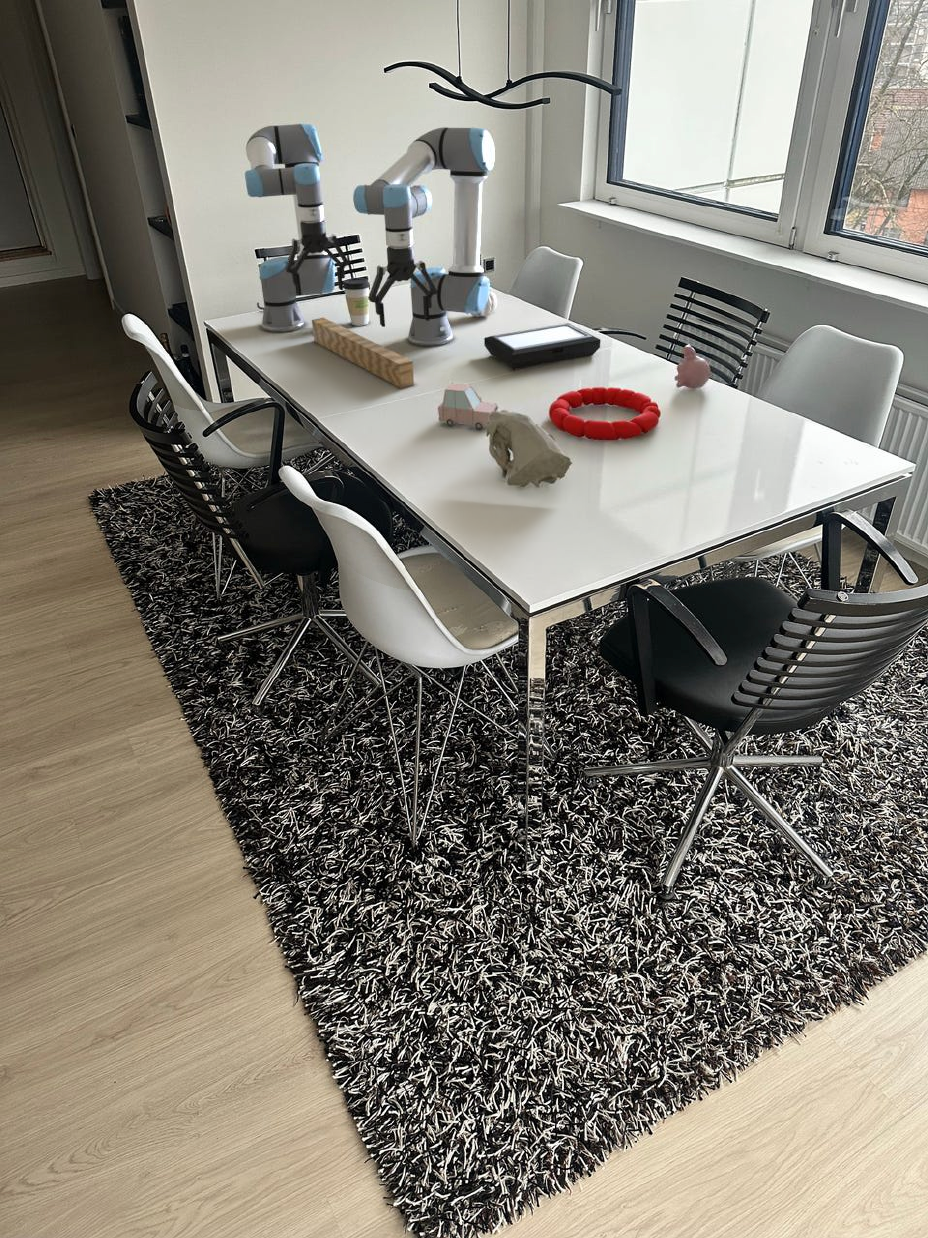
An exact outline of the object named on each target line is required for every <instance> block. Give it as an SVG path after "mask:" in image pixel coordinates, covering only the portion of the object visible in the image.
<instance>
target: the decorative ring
mask: <svg viewBox="0 0 928 1238" xmlns="http://www.w3.org/2000/svg"><path fill="white" fill-rule="evenodd" d="M583 405H584V406H586V407H587V406H591V405H593V406H604V405H608V406H614V407H619V408H624V409H628V410H632V411H635V412H636V413H638V414H639V415H637V416H635V417H632V418H631V419H630V420H625V419H624V420H623V419H622V420H614V421H611V422H609V421H607V420H606V421H605V420H593V419H587V420H586V421H585V419H584V418H582V417H579V416H577V415H573V414H571V413H570V410H571V409H579V408H581V407H582V406H583ZM548 416H549V419H550V422H551V423H552V425H553V426H554V427H555V428H556V429H558V430H559V431H561V432H563V433H567V434H568V435H569V436H573V437H576V438H580V439H582V438H583V437H585V438H586V439H587V440H591V441H601V442H602V441H603V442H608V441H609V442H610V441H611V442H612V441H615V442H616V441H618V440H630V439H634V438H638V437H641V436H642V434H647V433H650V432H651V431H653V430H654V429H655V428H656V427H657V426H658V424H659V422H660V421H659V420H660V417H661V410H660V408H659V405H658V403H657V402H656V401H652V399H651V397H649V396H648V395H646V394H644V393H642V392H635V391H634V390H632V389H628V388H624V389H622V388H620V387H613V386H612V387H611V386H610V387H608V388H606V387H604V386H594V387H585V388H584V387H583V388H580V389H578V390H571V391H568V392H565V393H563V394H561V395H560V396H558V397H557V398H556V400H554V401H552V403H551V404H550V407H549V409H548Z"/></svg>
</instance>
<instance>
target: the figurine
mask: <svg viewBox="0 0 928 1238" xmlns="http://www.w3.org/2000/svg"><path fill="white" fill-rule="evenodd" d="M682 354H683V358H684V359H683V361H682V362H679V363H678V364H677V365H676V372H677V375H675V376H674V381H675V382H676V381H677V382H676V384H675V386H676V388H681V387H686V388H688V389H693V390H694V389H695V390H696V389H700V388H703V387H704V386H705V385H706V384H707V383H708V382H709V379H710V377H711V367H710V364H709V362H708V361H706V359H704V358H702V357H700V356H697V353H696V350H695V349H694V347H692V345H690V344H686V345H685V346H684V347H683V348H682Z"/></svg>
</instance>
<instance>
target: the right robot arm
mask: <svg viewBox="0 0 928 1238" xmlns="http://www.w3.org/2000/svg"><path fill="white" fill-rule="evenodd" d="M495 150H496V149H495V144H494V141H493V138H492V136H491V134H490V132H489V131H488V130H487V129H485V128H478V127H474V126H473V127H446V126H445V127H438V128H435V129H432V130H430V131H428V132H426V133H424V134H422V135H420V136H419V137H418V138H416V139H414V140H413V142H411V143H410V144H409V145H408V146H407V150H406V152H405V153H404V154H403V155H402V156H401V157H400V158H398V159H397V161H395V163H393V164H392V165H391V166H390V167H388V168H387V170H385V171H384V172H383V173H382V174H381V175H380V176H378V177H377V178H376V179H375V180H374V181H373V182H372V183H371V184H359V185H357V186H356V187H355V189H354V191H353V194H352V195H353V196H352V201H353V206H354V209H355V211H357V212H358V213H359V214H365V215H375V216H377V215H379V216H384V226H385V227H384V228H385V229H384V230H385V245H386V246H387V247H386V258H387V260H386V261H387V265H386V266H381V265H377V266H376V275H375V278H374V280H373V283H372V286H371V288H370V290H369V297H368V299H369V302H370V303H374V306H375V314H376V315H377V316H379V317H378V318H379V325H380V326H381V327H382V328H383V327H386V322H385V321H386V320H385V308H384V302H382V301H383V300H384V298H385V297H386V296H387V293H388V292H389V290H390V289H391V288H392V286H393V285H394V284H395V282H398V283H399V282H402V281H403V282H406V281H409V280H410V286H409V288H410V299H411V311H412V312H411V313H412V320H411V323H410V326H409V330H408V336H407V337H408V342H409V343H410V344H412V345H415V346H420V347H421V346H422V347H435V346H436V347H437V346H442V345H447V344H449V343H450V342H452V341H453V339H454V338H453V337H454V336H453V330H452V328H451V325H450V322H449V320H448V317H447V312H452V313H453V312H454V313H462V314H466V315H468V314H469V315H470V313H474V314H476V313H480V312H481V311H482V310H483V309H484V307H485V305H486V303H487V301H488V297H489V292H490V290H491V284H490V279H489V278H488V277H487V276H486V275H484V274H485V272H484V271H485V270H484V268H483V267H482V266H481V265H480V258H481V256H480V255H481V229H482V227H481V226H482V222H481V221H482V198H483V197H482V196H483V194H482V193H483V183H484V182H485V180H487V179H488V172H491V171H492V170H493V168H494V165H495V164H494V163H495V160H496V157H495V156H496V152H495ZM434 170H447V171H448V170H449V177H450V178H451V180H452V181H453V183H454V202H453V204H454V207H453V208H454V209H453V259H452V260H453V261H452V265H451V266H450V267H449V268H448V271H447V272H448V273H446V270H445V268H444V267H441V266H439V267H428V268H427V267H426V263H425V262H424V261H422V260H419V261H418V262H415V253H414V246H413V244H414V238H413V236H414V235H413V221H412V220H413V219H414V218H416V217H421V216H423V215H424V214H425V213H428V212H429V211H430V209H431V208H432V206H433V205H432V204H433V197H432V193H431V191H430V190H429V189H428V188H427V187H426V186H425V185H421V184H420V185H419V184H417V185H413V184H414V183H415V182H416V181H417V180H418V179H419V178H420V177H422V175H427V174H429V173H431V172H432V171H434ZM412 185H413V186H412ZM416 269H417V270H416ZM386 272H387V273H388V276H387V277H386V280H385V282H384V283H383V285H382V287H381V284H382V281H383V278H384V276H385V274H386ZM380 287H381V288H380Z"/></svg>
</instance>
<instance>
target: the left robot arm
mask: <svg viewBox="0 0 928 1238" xmlns="http://www.w3.org/2000/svg"><path fill="white" fill-rule="evenodd" d="M245 154H246V157H247V160H248V161H249V162H250V163H249V164H250V170H248V169H247V170H245V172H244V179H245V185H246V191H247V192H246V193H247V195H248V196H249V197H250V198H266V197H267V198H268V197H278V196H279V197H280V196H293V204H294V212H295V220H296V227H297V235H298V239H295V238H292V239H291V248H290V251H289V255H288V256H277V257H272V258H270V259H267V260H264V261H263V262H261V263H260V265H259V266H258V270H259V280H260V285H261V286H260V287H261V292H262V299H263V307H261V305H260V302H256V306H257V308H258V309H259V310H262V311H263V313H262V319H261V326H262V330H264V331H265V332H271V333H286V332H293V331H296V330H297V331H298V330H300V329H302V328H304V326H305V319H304V317H303V314H302V312H301V310H300V307H299V306H298V305H299V304H298V303H297V297H300V296H301V297H302V296H314V295H324V294H330V293H333V291H334V290H335V282H336V281H335V277H336V276H337V285H338V289H339V290H340V291H344V288H343V284H344V282H343V279H345V277H346V272H345V268H346V267H348V266H350V261H349V260H348V258H347V256H346V254H345V252H344V251H343V249H342V248H341V245H340V244H339V241H338V237H337V236H336V234H333V233H332V234H331V235H328V236H327V230H326V221H325V220H324V219H325V212H324V204H323V196H322V194H323V193H322V184H321V174H320V163H322V162H323V153H322V149H321V144H320V139H319V136H318V133H317V129H316V127H315V126H314V125H313V124H309V123H295V124H294V123H293V124H281V125H280V124H279V125H267V126H264V127H261V128H260V129H257V130H256V132H253V134H252V135H251V136H250V137H249V139H248V140H247V142H246V146H245ZM275 165H284V167H280V168H276V166H275ZM328 242H329V243H331V244H332V245H333V247H334V249H335V250H336V252H337V253H338V256H339V257H340V258H341V260H342V261H341V260H339V258H338V257H337V256H336V255H335V254H334V253H333V252H332V251H331V250H330V249H329V248H328V247H327V245H328ZM298 248H299V251H298ZM297 252H298V253H297ZM295 258H296V260H295ZM335 264H336V265H337V266H336V267H335ZM335 268H336V269H335ZM336 274H337V275H336Z"/></svg>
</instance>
